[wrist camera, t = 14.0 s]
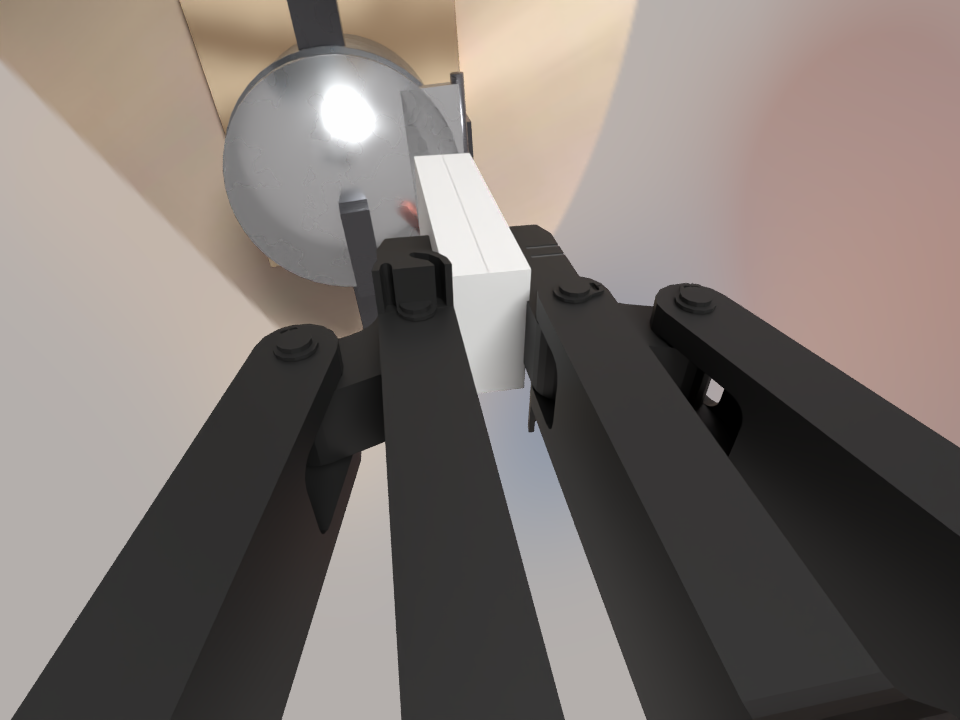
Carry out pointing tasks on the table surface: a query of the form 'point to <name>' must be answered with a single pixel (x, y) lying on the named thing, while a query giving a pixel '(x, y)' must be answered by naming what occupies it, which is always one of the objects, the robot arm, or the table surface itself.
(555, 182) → the table surface
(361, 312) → the pot
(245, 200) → the lid
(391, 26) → the trivet
